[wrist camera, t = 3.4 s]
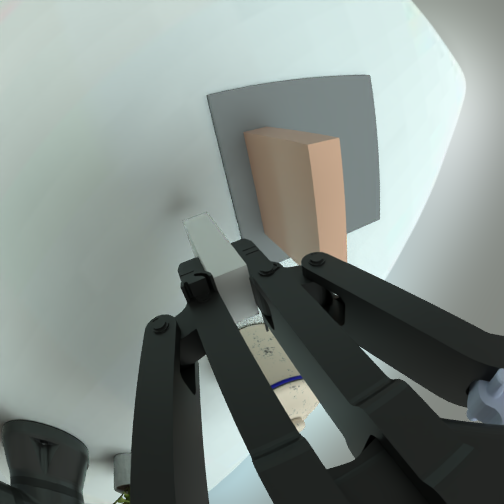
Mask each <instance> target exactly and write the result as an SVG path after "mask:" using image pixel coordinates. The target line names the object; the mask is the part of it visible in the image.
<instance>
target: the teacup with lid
mask: <svg viewBox="0 0 504 504" xmlns="http://www.w3.org/2000/svg"><path fill="white" fill-rule="evenodd" d="M268 329H269V328H268ZM239 331H240V333H241V335H242V336H243V338H244V340H245V342H246V344H247V345H248V347H249V349H250V351H251V353H252V354H253V356H254V358H255V360H256V361H257V363H258V365H259V367H260V368H261V370H262V372H263V374H264V375H265V377H266V379H267V380H268V382H269V384H270V386H271V387H272V389H273V391H274V392H275V394H276V396H277V397H278V399H279V401H280V402H281V404H282V406H283V407H284V409H285V411H286V412H287V414H288V416H289V417H290V419H291V421H292V422H293V424H294V425H295V427H296V429H297V430H298V432H301V431H302V430H303V429H304V428H305V422H304V419H306V418H307V416H308V415H309V414H310V413H311V412H312V411H313V410H314V409H315V408H316V406H317V405H318V404H319V401H318V399H317V398H316V396H315V395H314V394H313V392H312V391H311V389H310V388H309V386H308V385H307V384H306V382H305V381H304V379H303V378H302V376H301V375H300V373H299V372H298V370H297V369H296V368H295V366H294V365H293V363H292V362H291V360H290V359H289V357H288V356H287V354H286V353H285V351H284V350H283V348H282V347H281V346H280V344H279V343H278V341H277V340H276V338H275V337H274V335H273V334H272V332H271V331H270V329H269V331H268V332H267V331H266V328H265V324H257V325H252V326H248V327H245V328H243V329H241V330H239Z"/></svg>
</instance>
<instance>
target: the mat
mask: <svg viewBox="0 0 504 504" xmlns="http://www.w3.org/2000/svg"><path fill="white" fill-rule="evenodd" d="M207 99H208V103H209V107H210V111H211V115H212V120H213V124H214V128H215V132H216V136H217V140H218V144H219V148H220V152H221V157H222V161H223V165H224V169H225V173H226V177H227V181H228V185H229V189H230V193H231V197H232V201H233V205H234V209H235V213H236V217H237V221H238V225H239V229H240V233H241V237H242V239H244V238H245V239H248V240H251V241H252V242H253V243H254V244H255V245H256V246H257V247H258V248H259V250H261V251H262V253H263V254H264V255H265V256H266V257H267V258H268V259H269V260H270V261H273V262H278V263H279V262H281V261H284V260H286V259H288V258H290V257H289V256H288V255H287V254H286V253H285V252H284V251H283V250H282V249H281V248H280V247H279V246H278V245H277V244H275V243H274V242H273V241H272V240H271V239H270V238H269V237H268V236H267V235H266V234H265V233H264V228H263V223H262V218H261V213H260V209H259V204H258V199H257V194H256V189H255V185H254V180H253V175H252V170H251V166H250V161H249V156H248V152H247V147H246V143H245V138H244V133H243V132H246V131H250V130H254V129H258V128H263V127H275V128H283V129H290V130H297V131H304V132H310V133H316V134H322V135H328V136H333V137H338V138H339V139H340V148H341V158H342V169H343V181H344V194H345V211H346V234H347V233H350V232H352V231H354V230H356V229H359V228H361V227H363V226H366V225H368V224H370V223H372V222H375V221H377V220H379V219H380V179H379V155H378V140H377V127H376V117H375V108H374V99H373V91H372V84H371V78H370V75H352V76H330V77H316V78H305V79H296V80H287V81H280V82H273V83H266V84H260V85H254V86H248V87H243V88H238V89H233V90H228V91H223V92H219V93H214V94H210V95H207Z"/></svg>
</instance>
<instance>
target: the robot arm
mask: <svg viewBox="0 0 504 504" xmlns="http://www.w3.org/2000/svg"><path fill="white" fill-rule="evenodd" d="M183 223H184V226H185V229H186V232H187V235H188V238H189V241H190V244H191V246H192V249H193V252H194V255H195V258H193V259H191V260H188V261H186V262H183V263H181V264H180V265H179V268H178V273H179V276H180V279H181V289H182V292H183V294H184V296H185V298H186V301H187V305H186V307H185V309H184V310H183V311H182V312H181V313H180V314H178V315H177V316H175V317H173V316H171V315H160V316H157V317H155V318H154V319H152V320H151V321H150V322H149V323H148V324H147V326H146V329H145V333H144V340H143V346H142V352H141V359H140V366H139V374H138V382H137V390H136V399H135V409H134V420H133V432H132V447H131V470H130V504H209V498H208V490H207V480H206V471H205V460H204V449H203V436H202V422H201V405H200V386H199V363H198V360H199V359H201V358H202V357H203V356H205V355H207V357H208V360H209V362H210V365H211V367H212V370H213V372H214V375H215V377H216V380H217V382H218V384H219V387H220V389H221V392H222V394H223V396H224V399H225V401H226V403H227V405H228V408H229V410H230V412H231V415H232V417H233V419H234V421H235V423H236V426H237V428H238V430H239V432H240V434H241V436H242V438H243V441H244V443H245V445H246V447H247V449H248V451H249V453H250V455H251V458H252V462H253V464H254V467H255V469H256V471H257V473H258V475H259V477H260V479H261V481H262V483H263V485H264V486H265V488H266V490H267V492H268V494H269V496H270V498H271V499H272V501H273V503H274V504H504V336H500V335H495V334H490V333H487V332H485V331H483V330H481V329H480V328H478V327H476V326H474V325H472V324H470V323H468V322H466V321H464V320H462V319H460V318H458V317H457V316H455V315H453V314H451V313H449V312H447V311H445V310H443V309H441V308H439V307H437V306H435V305H433V304H431V303H429V302H427V301H425V300H423V299H421V298H419V297H417V296H415V295H413V294H411V293H409V292H407V291H405V290H403V289H401V288H399V287H397V286H395V285H392V284H391V283H388V282H386V281H384V280H382V279H380V278H378V277H376V276H374V275H372V274H370V273H368V272H366V271H363V270H361V269H359V268H357V267H355V266H353V265H351V264H349V263H346V262H344V261H342V260H340V259H338V258H336V257H334V256H331V255H329V254H327V253H324V252H313V253H309V254H307V255H305V256H304V257H303V258H302V261H301V265H299V266H294V267H283V266H282V265H281V264H279V263H278V262H273V261H270V260H269V259H268V258H267V257H266V256H265V255H264V254H263V253H262V251H261V250H259V248H258V247H257V246H256V245H255V244H254V243H253V242H252V241H251V240H248V239H245V238H244V239H241V240H238V241H236V242H233V243H230V242H229V241H228V240H227V238H226V237H225V236H224V234H223V233H222V232H221V230H220V229H219V228H218V227H217V225H216V224H215V223H214V221H213V220H212V219H211V217H210V216H209V215H208V213H207V212H205V213H203V214H200V215H197V216H195V217H192V218H189V219H186V220H184V221H183ZM335 294H336V295H335ZM337 295H338V296H337ZM257 306H258V307H257ZM258 308H259V309H260V310H261V312H262V316H263V320H264V324H265V328H266V331H267V332H268V331H269V329H270V331H271V332H272V334H273V335H274V337H275V338H276V340H277V341H278V343H279V344H280V346H281V347H282V348H283V350H284V351H285V353H286V354H287V356H288V357H289V359H290V360H291V362H292V363H293V365H294V366H295V368H296V369H297V370H298V372H299V373H300V375H301V376H302V378H303V379H304V381H305V382H306V384H307V385H308V386H309V388H310V389H311V391H312V392H313V394H314V395H315V396H316V398H317V399H318V401H319V402H320V403H321V405H322V406H323V408H324V409H325V411H326V412H327V413H328V415H329V416H330V417H331V419H332V420H333V422H334V423H335V425H336V426H337V427H338V429H339V430H340V431H341V433H342V434H343V436H344V438H345V440H346V443H347V445H348V448H349V449H350V451H351V453H352V454H353V456H354V457H355V460H353V461H352V462H349V463H346V464H343V465H340V466H337V467H333V468H330V469H326V468H325V467H324V465H323V464H322V462H321V461H320V459H319V458H318V456H317V455H316V453H315V452H314V450H313V449H312V447H311V446H310V444H309V443H308V441H307V440H306V439H305V438H304V437H303V436H301V434H299V432H298V430H297V429H296V427H295V425H294V424H293V422H292V421H291V419H290V417H289V416H288V414H287V412H286V411H285V409H284V407H283V406H282V404H281V402H280V401H279V399H278V397H277V396H276V394H275V392H274V391H273V389H272V387H271V386H270V384H269V382H268V380H267V379H266V377H265V375H264V374H263V372H262V370H261V368H260V367H259V365H258V363H257V361H256V360H255V358H254V356H253V354H252V353H251V351H250V349H249V347H248V345H247V344H246V342H245V340H244V338H243V336H242V335H241V333H240V331H239V329H238V327H237V326H236V323H238V322H241V321H243V320H245V319H248V318H250V317H252V316H255V315H257V314H259V311H258ZM268 328H269V329H268ZM359 346H360V347H361V348H363V349H365V350H366V351H368V352H369V353H371V354H372V355H374V356H375V357H377V358H379V359H380V360H382V361H383V362H385V363H386V364H388V365H390V366H391V367H393V368H394V369H396V370H398V371H399V372H401V373H402V374H404V375H405V376H407V377H408V378H410V379H412V380H413V381H415V382H416V383H418V384H420V385H421V386H423V387H424V388H426V389H428V390H429V391H431V392H433V393H434V394H436V395H437V396H439V397H441V398H443V399H445V400H446V401H448V402H451V403H454V404H456V405H459V406H463V407H467V408H468V410H467V417H468V419H469V420H471V421H476V420H479V421H481V422H482V423H474V422H465V421H458V420H450V419H444V418H440V417H439V416H438V415H437V414H436V413H435V412H434V411H433V410H432V409H431V408H430V407H429V406H428V405H427V404H426V402H424V400H423V399H422V398H421V397H420V396H419V395H418V394H417V393H416V392H415V391H414V390H413V389H412V388H411V387H410V386H409V385H408V384H407V383H406V382H405V381H403V380H400V379H394V380H392V379H390V378H389V377H387V376H386V375H385V374H384V373H383V371H381V369H380V368H379V367H378V366H377V365H376V364H375V363H374V362H373V361H372V360H371V359H370V358H369V356H368V355H367V354H366V353H365V352H364V351H363V350H362V349H361V348H360V347H359ZM2 443H3V446H4V450H5V455H6V459H7V463H8V467H9V471H10V480H11V486H10V485H8V484H6V483H4V482H2V481H0V504H84V499H83V486H84V481H85V476H86V470H87V469H88V466H89V455H88V450H87V448H86V446H85V445H84V444H83V443H82V442H80V441H79V440H78V439H76V438H75V437H73V436H71V435H69V434H67V433H65V432H63V431H61V430H58V429H56V428H53V427H50V426H47V425H43V424H40V423H35V422H30V421H20V420H17V421H10V422H7V423H6V424H4V426H3V430H2Z"/></svg>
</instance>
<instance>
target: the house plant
mask: <svg viewBox="0 0 504 504" xmlns="http://www.w3.org/2000/svg"><path fill="white" fill-rule="evenodd" d="M130 470H131V453H123V454H118V455H116V456H115V457H114V490H115V491H116V492H118V493H122V495H121V496H120V497H119V498H118V500H117V501H118V503H122V502H124V503H123V504H130ZM123 494H124V497H125V498H126V499H123V498H122V496H123ZM117 501H115V502H114V503H113V504H116V503H117Z"/></svg>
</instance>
